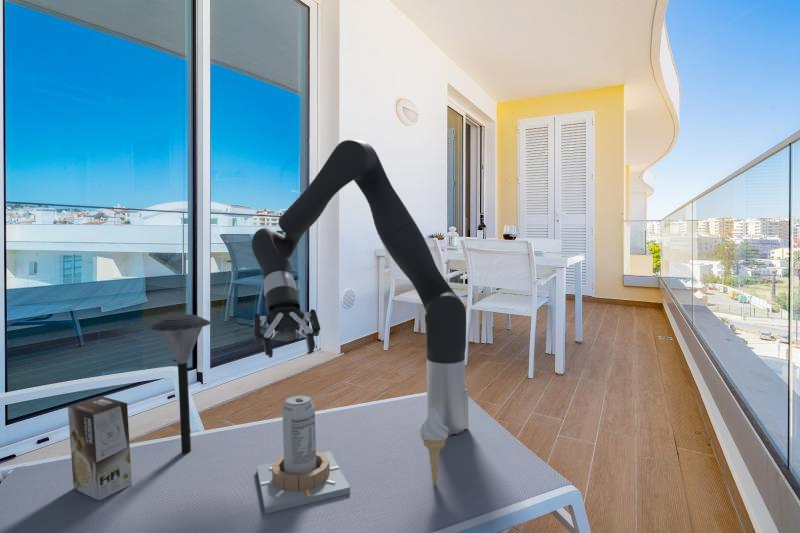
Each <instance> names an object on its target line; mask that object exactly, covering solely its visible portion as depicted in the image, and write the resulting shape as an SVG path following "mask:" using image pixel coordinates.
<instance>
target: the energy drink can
mask: <svg viewBox="0 0 800 533" xmlns="http://www.w3.org/2000/svg"><path fill="white" fill-rule="evenodd" d="M315 410H316V407H315V404H314V402H313V401H312V397H311V396H310V395H307V394H295V395H291V396H288V397H287V398H285V403H284V405H283V406H282V410H281V411H282V412H281V414H282V438H283V439H282V441H283V456H284V473H286V474H293V475H301V474H305V473H310V472H312V471H314V470H316V451H317V446H316V444H317V442H316V438H317V437H316V411H315Z"/></svg>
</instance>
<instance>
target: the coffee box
mask: <svg viewBox="0 0 800 533" xmlns="http://www.w3.org/2000/svg"><path fill="white" fill-rule="evenodd" d="M128 413H129V412H128V402H124V401H120V400H116V399H114V398H113V399H112V398H111V397H110V398H109V397H105V396H102V395H101V396H97V397H93V398H90V399H86V400H84V401H80V402H78V403H76V404H72V405H68V406H67V414H68V428H69V441H70V442H69V443H70V455H71V456H70V457H71V469H72V484H73V489H74V490H75V489H76V490H75V491H77V490H78V491H77V492H80V493H82V494H84V495H86V496H88V497H89V498H90V497H91V498H92V499H95V500H97V501H102V500H104V499H105V498H108V497H109V496H112V495H114V494H116V493H118V492H119V491H122V490H123V489H126V488H128V487H130V486H132V484H133V482H132V481H133V480H132V466H131V465H132V464H131V463H132V462H131V449H130V448H131V447H130V446H131V444H130V429H129V426H130V425H129V414H128Z"/></svg>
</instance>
